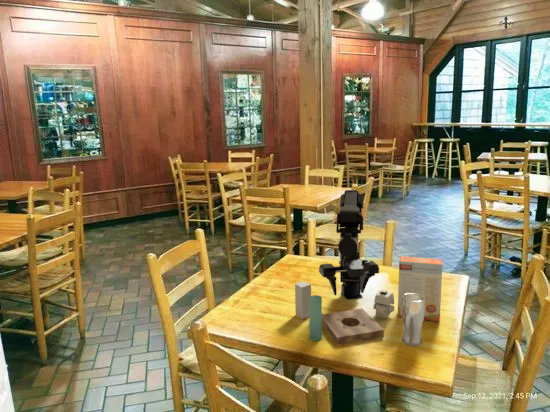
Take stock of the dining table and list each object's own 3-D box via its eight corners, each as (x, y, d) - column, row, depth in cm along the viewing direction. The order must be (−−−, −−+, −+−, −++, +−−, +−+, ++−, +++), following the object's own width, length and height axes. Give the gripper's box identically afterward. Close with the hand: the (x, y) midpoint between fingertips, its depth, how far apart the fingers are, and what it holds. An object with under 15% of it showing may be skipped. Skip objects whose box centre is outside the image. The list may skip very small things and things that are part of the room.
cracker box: (439, 314, 154) (442, 258, 149) (439, 322, 148) (443, 264, 144) (398, 309, 159) (400, 255, 154) (397, 317, 153) (399, 260, 148)
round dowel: (319, 333, 144) (319, 294, 140) (323, 340, 140) (323, 299, 137) (307, 335, 143) (307, 296, 140) (311, 342, 139) (311, 301, 136)
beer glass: (396, 336, 141) (398, 293, 137) (417, 334, 141) (419, 291, 138) (405, 348, 134) (406, 302, 130) (427, 346, 134) (429, 301, 131)
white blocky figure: (394, 315, 155) (395, 288, 152) (388, 323, 149) (389, 295, 147) (378, 311, 158) (378, 285, 156) (371, 319, 152) (372, 292, 150)
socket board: (362, 314, 156) (362, 308, 155) (383, 336, 140) (383, 329, 140) (319, 321, 152) (319, 314, 151) (337, 344, 137) (337, 337, 136)
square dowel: (304, 311, 159) (303, 281, 157) (311, 315, 156) (310, 284, 153) (295, 314, 157) (294, 283, 154) (302, 319, 154) (301, 287, 151)
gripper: (328, 256, 132) (328, 305, 134) (386, 252, 135) (385, 300, 137) (318, 247, 142) (318, 292, 145) (372, 243, 146) (371, 288, 148)
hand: (348, 293), depth 144 cm, fingers open, 9 cm apart
